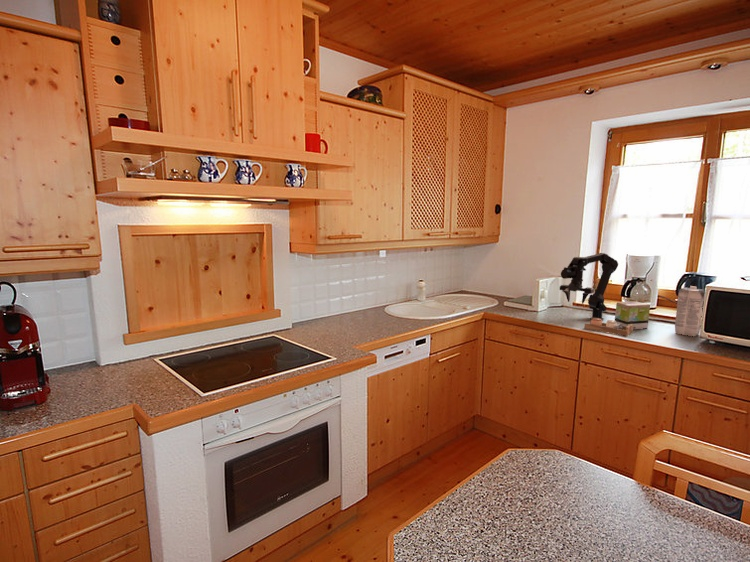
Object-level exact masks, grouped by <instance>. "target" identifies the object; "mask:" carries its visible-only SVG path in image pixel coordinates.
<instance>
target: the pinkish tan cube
mask: <svg viewBox="0 0 750 562" xmlns="http://www.w3.org/2000/svg"><path fill="white" fill-rule="evenodd" d="M590 321H591V324H592V325H598V326H602V323H603V320H601V319H600V318H593V319H591V320H590Z"/></svg>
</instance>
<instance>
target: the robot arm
mask: <svg viewBox="0 0 750 562" xmlns="http://www.w3.org/2000/svg"><path fill="white" fill-rule="evenodd" d="M597 262H599V263H600V264H601V270H602V271H601V274H600V277H599V281H598V284H597V287H596V289H595V288H594V287H588V286H587V287H585V288H584V287H583V282H584V279H583V277H584V271H587V269H586V268H585V267H586V266H587V265H588V264H592V263H597ZM618 266H619V263H618V260H617V259H615V258H613V257H611V256H609V255H608V254H607V253H605V252H599V253H596V254H593V255H588V256H575V257H572V260H571V261H570V263H569V264H568V265H567V267H566V266H565V267H563V269H562V270H561V272H560V276H561V278H562V279H563V280H566V279H571V280H570V283H568V284H560V285H559V291H562V293H564V294H565V296H566V299H567V302H568V303H569V302H570V299H571V291H572V292H578V291H579V292H583V293H582V300H581V304H582V305H583V304H584V303H585V301H586V299H587V297H588V296H589V297H588V300H587V301H588V302H587V304H588V306H589V309H591V310H592V313H591V317H590V318H589V320H592V319H593V318H600V319H601V320H602V321H603V320H604V319H605V318H604V317H603V313H604V312H606V311H607V309H608V307H607V305H605V298H604V296H605V292H606V290H607V287H608V285H609V281H610V279H611V275H612V274H613V273H615V271H616V270H617V269H618Z"/></svg>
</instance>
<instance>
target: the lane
mask: <svg viewBox="0 0 750 562" xmlns="http://www.w3.org/2000/svg"><path fill="white" fill-rule="evenodd" d="M591 321H592V320H589V323H584V327H583V329H584V328H586V329H585V330H590V329H591V331H595V330H597V331H596V332H601V331H603V332H602V333H606V332H609V333H608V334H612V333H614V334H613V335H617V334H618V336H623V335H625V336H624V337H628V335H629V334H630V335H632V334H633V331H634V329H633V324H630V325H629V326H627V327H625V326H621V327H623V330H622V329H616V328H610V327H606V322H602V326H598V325H592V324H591ZM631 333H632V334H631ZM630 335H629V336H630Z"/></svg>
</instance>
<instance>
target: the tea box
mask: <svg viewBox="0 0 750 562" xmlns="http://www.w3.org/2000/svg"><path fill="white" fill-rule="evenodd" d="M650 313H651V304H649V303H644V302H640V301H621V302H616V306H615V314H614V316H615V317H614V321H616V322H617V325H618V324H619V323H621V326H625V327H627V326H629V325H630V324H633V330H644V329H643V328H647V329H648V326H649V320H650V319H649V317H650Z"/></svg>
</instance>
